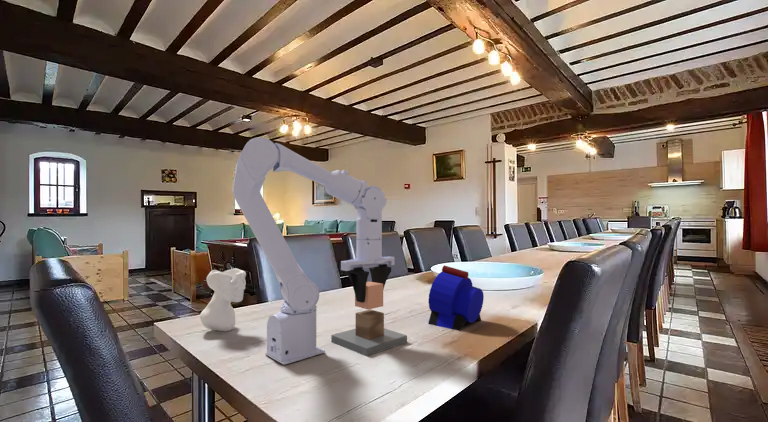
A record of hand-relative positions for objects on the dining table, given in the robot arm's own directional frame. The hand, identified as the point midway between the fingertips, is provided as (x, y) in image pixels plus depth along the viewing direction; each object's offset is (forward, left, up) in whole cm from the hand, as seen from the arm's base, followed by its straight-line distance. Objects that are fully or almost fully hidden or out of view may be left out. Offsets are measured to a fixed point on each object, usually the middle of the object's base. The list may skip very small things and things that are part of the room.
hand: (369, 299), depth 82 cm
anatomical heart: (-20, +31, -10) cm, 38 cm away
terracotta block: (0, 0, -1) cm, 1 cm away
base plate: (0, 0, -9) cm, 9 cm away
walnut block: (0, 0, -8) cm, 8 cm away
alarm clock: (+27, -5, -10) cm, 29 cm away
